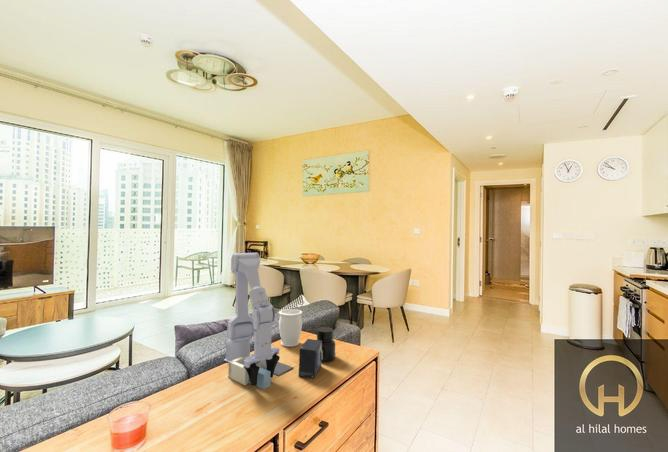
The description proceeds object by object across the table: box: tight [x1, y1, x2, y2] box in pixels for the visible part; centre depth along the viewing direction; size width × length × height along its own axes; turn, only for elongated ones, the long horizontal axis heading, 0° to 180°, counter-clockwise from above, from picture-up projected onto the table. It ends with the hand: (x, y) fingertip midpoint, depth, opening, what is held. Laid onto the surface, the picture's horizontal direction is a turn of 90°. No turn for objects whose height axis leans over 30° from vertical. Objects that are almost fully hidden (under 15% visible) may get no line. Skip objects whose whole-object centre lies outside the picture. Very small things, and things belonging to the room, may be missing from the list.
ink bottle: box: [316, 326, 336, 363], centre depth 132 cm, size 10×9×12 cm
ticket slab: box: [248, 367, 271, 390], centre depth 110 cm, size 10×3×5 cm, turn 55°
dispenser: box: [227, 356, 261, 386], centre depth 114 cm, size 9×7×6 cm
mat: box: [261, 360, 294, 377], centre depth 123 cm, size 14×8×1 cm, turn 56°
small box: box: [298, 338, 322, 379], centre depth 120 cm, size 11×6×10 cm, turn 168°
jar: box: [278, 308, 303, 348], centre depth 147 cm, size 11×10×15 cm
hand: (261, 380), depth 109 cm, fingers open, 7 cm apart
